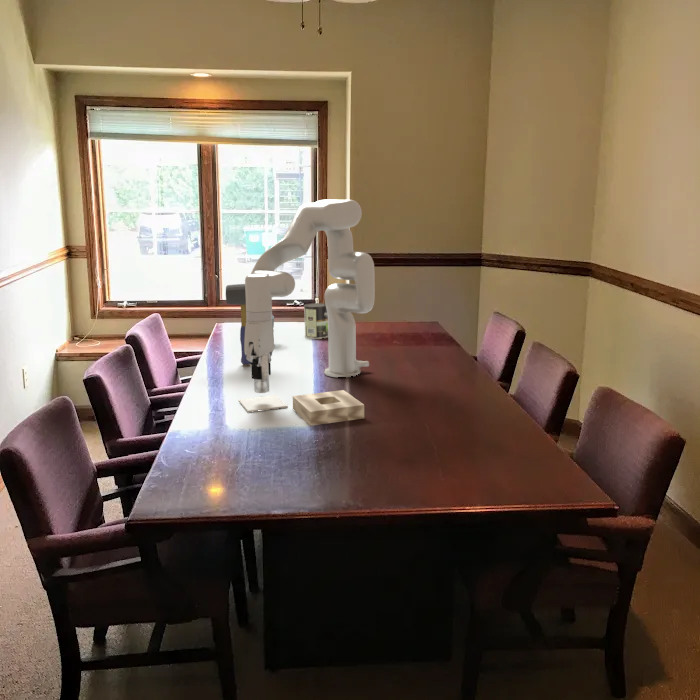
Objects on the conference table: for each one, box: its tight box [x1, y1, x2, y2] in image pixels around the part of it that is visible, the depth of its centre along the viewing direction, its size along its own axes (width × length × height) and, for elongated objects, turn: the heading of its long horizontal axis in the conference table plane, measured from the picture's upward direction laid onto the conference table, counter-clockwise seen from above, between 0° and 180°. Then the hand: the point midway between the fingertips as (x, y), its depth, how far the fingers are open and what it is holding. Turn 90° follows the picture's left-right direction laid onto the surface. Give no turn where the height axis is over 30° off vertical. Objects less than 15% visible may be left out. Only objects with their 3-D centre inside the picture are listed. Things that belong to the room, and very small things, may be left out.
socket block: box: [292, 389, 365, 427], centre depth 203 cm, size 16×16×4 cm
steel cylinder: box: [253, 352, 270, 394], centre depth 210 cm, size 4×4×12 cm
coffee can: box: [303, 302, 328, 340], centre depth 305 cm, size 10×10×14 cm
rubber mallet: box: [225, 283, 250, 367], centre depth 256 cm, size 12×8×30 cm, turn 93°
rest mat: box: [238, 394, 288, 413], centre depth 212 cm, size 12×12×1 cm
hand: (261, 376), depth 210 cm, fingers closed on steel cylinder, 4 cm apart
